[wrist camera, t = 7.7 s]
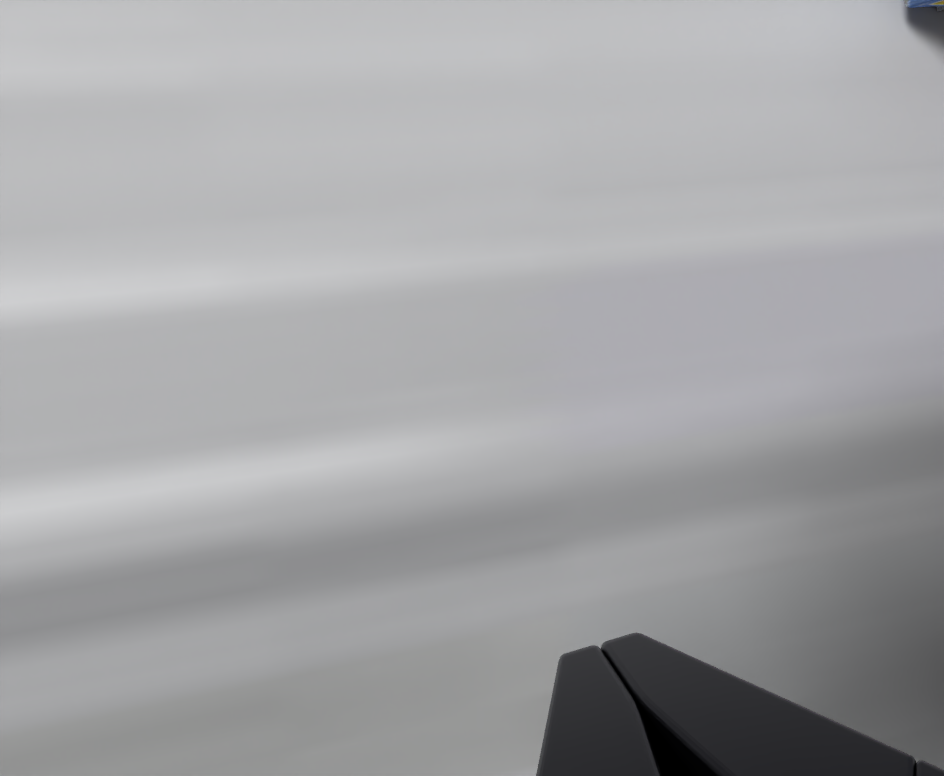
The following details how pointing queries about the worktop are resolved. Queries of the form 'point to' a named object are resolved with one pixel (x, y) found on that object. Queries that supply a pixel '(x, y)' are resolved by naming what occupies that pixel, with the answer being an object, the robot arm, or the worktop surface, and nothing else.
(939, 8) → the charcoal mat
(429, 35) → the worktop surface
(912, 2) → the ink cartridge box
